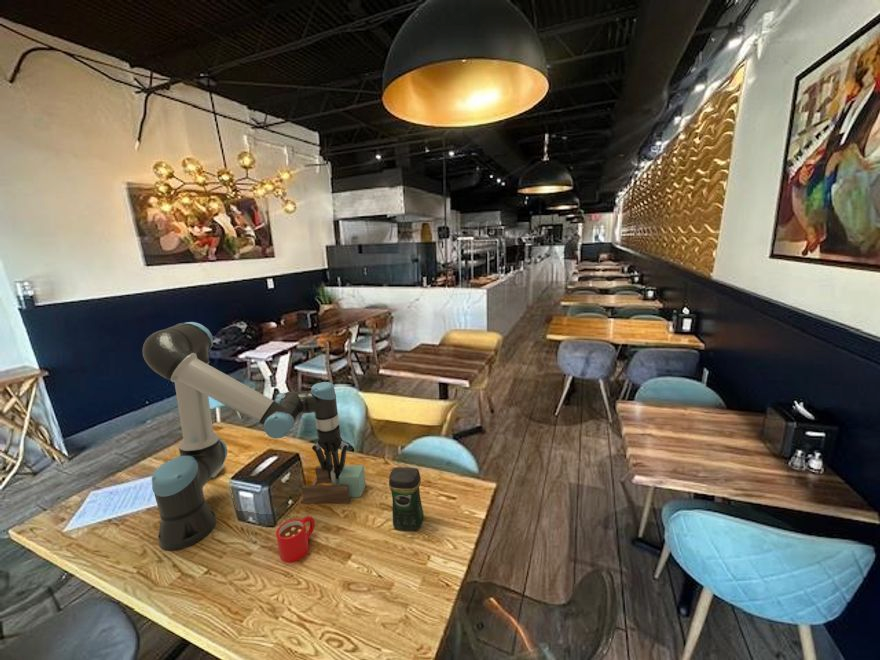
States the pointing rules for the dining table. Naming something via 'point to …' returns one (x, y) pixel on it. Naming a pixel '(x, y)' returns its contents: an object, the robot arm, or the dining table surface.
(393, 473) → the coffee jar
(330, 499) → the dark wooden parallel walls
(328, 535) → the dining table surface
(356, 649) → the dining table surface
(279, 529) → the mug
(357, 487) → the block
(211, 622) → the dining table surface
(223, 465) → the die
